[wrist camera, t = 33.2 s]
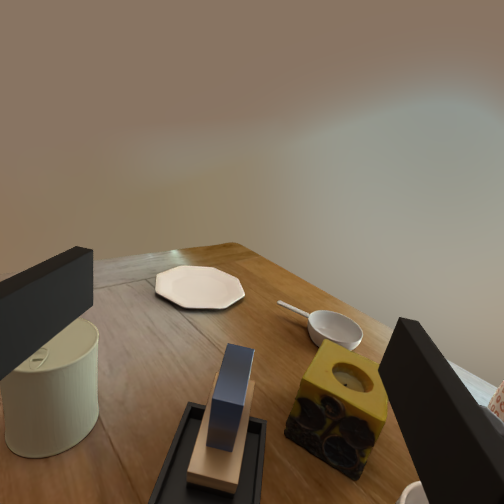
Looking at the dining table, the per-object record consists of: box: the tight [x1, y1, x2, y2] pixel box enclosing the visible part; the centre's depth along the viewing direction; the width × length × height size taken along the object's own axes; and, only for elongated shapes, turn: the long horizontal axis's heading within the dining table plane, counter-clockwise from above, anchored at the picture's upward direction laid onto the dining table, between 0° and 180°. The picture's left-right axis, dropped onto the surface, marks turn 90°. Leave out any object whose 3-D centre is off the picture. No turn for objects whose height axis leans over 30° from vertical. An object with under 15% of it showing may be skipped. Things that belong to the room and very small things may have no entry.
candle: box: [284, 339, 388, 480], centre depth 40 cm, size 10×10×10 cm
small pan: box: [277, 301, 363, 351], centre depth 62 cm, size 11×18×4 cm, turn 64°
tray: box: [148, 402, 267, 504], centre depth 31 cm, size 16×10×3 cm, turn 173°
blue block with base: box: [186, 343, 255, 499], centre depth 32 cm, size 11×5×13 cm, turn 173°
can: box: [0, 317, 99, 458], centre depth 34 cm, size 9×9×12 cm
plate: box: [155, 265, 245, 310], centre depth 71 cm, size 20×20×2 cm
